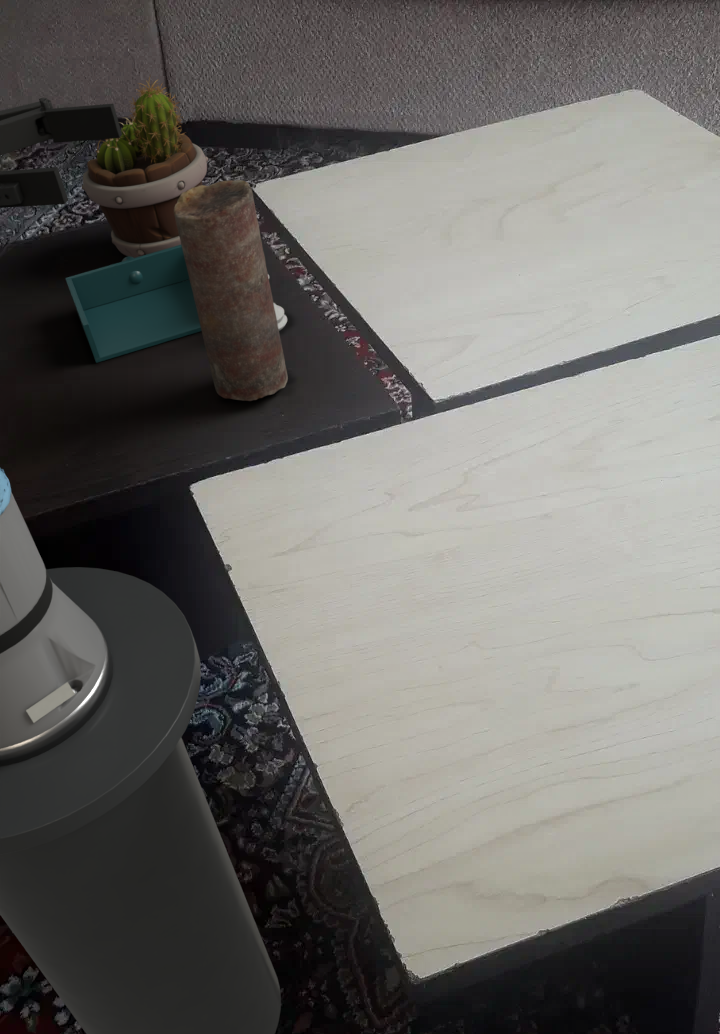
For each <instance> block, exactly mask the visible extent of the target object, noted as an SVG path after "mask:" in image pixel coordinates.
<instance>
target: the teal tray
mask: <svg viewBox="0 0 720 1034" xmlns="http://www.w3.org/2000/svg"><path fill="white" fill-rule="evenodd" d="M65 282H66V284H67V287H68V290H69V292H70V296H71V299H72V302H73V304H74V307H75V310H76V313H77V315H78V318H79V321H80V323H81V326H82V330H83V332H84V334H85V336H86V340H87V342H88V345H89V347H90V350H91V354H92V356H93V359H94V360H95V363H96V364H97V363H102V362H104V361H107V360H112V359H114V358H117V357H120V356H124V355H128V354H131V353H134V352H138V351H140V350H143V349H146V348H151V347H154V346H156V345H160V344H164V343H167V342H170V341H174V340H178V339H179V338H184V337H187V336H190V335H194V334H197V333H200V332H202V331H201V326H200V322H199V317H198V313H197V308H196V304H195V300H194V296H193V291H192V287H191V284H190V279H189V274H188V270H187V266H186V262H185V258H184V254H183V249H182V245H178V246H175V247H171V248H168V249H164V250H161V251H157V252H154V253H150V254H147V255H144V256H140V257H137V258H133V257H127V256H125V257H124V258H123V259H122V260H121V261H120V262H116V263H112V264H110V265H105V266H102V267H98V268H96V269H92V270H88V271H85V272H82V273H78V274H75V275H70V276H69V277H65Z"/></svg>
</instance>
